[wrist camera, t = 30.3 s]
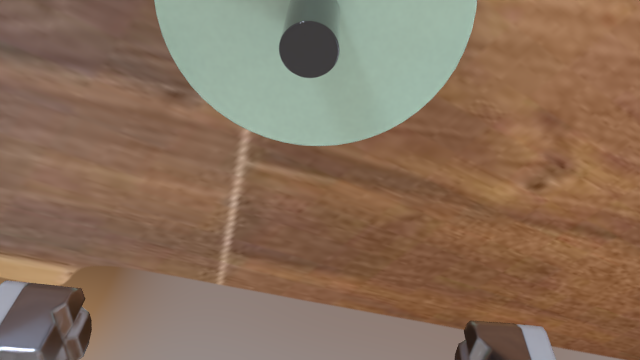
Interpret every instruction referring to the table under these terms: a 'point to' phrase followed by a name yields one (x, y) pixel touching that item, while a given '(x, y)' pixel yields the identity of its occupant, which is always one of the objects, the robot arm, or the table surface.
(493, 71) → the table surface
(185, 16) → the lid
